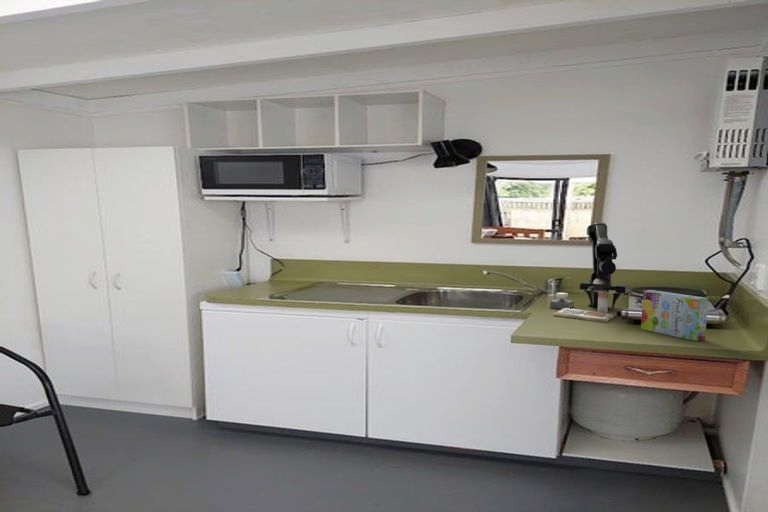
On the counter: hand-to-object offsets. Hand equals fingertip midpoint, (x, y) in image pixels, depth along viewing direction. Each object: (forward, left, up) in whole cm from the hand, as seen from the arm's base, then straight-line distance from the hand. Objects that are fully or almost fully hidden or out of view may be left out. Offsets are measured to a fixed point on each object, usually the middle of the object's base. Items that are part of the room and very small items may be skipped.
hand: (602, 306), depth 221 cm
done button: (-1, -18, -1) cm, 18 cm away
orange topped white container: (0, 0, -3) cm, 3 cm away
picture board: (+12, -4, -3) cm, 13 cm away
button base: (-1, -18, -3) cm, 18 cm away
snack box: (+24, +30, -3) cm, 39 cm away
